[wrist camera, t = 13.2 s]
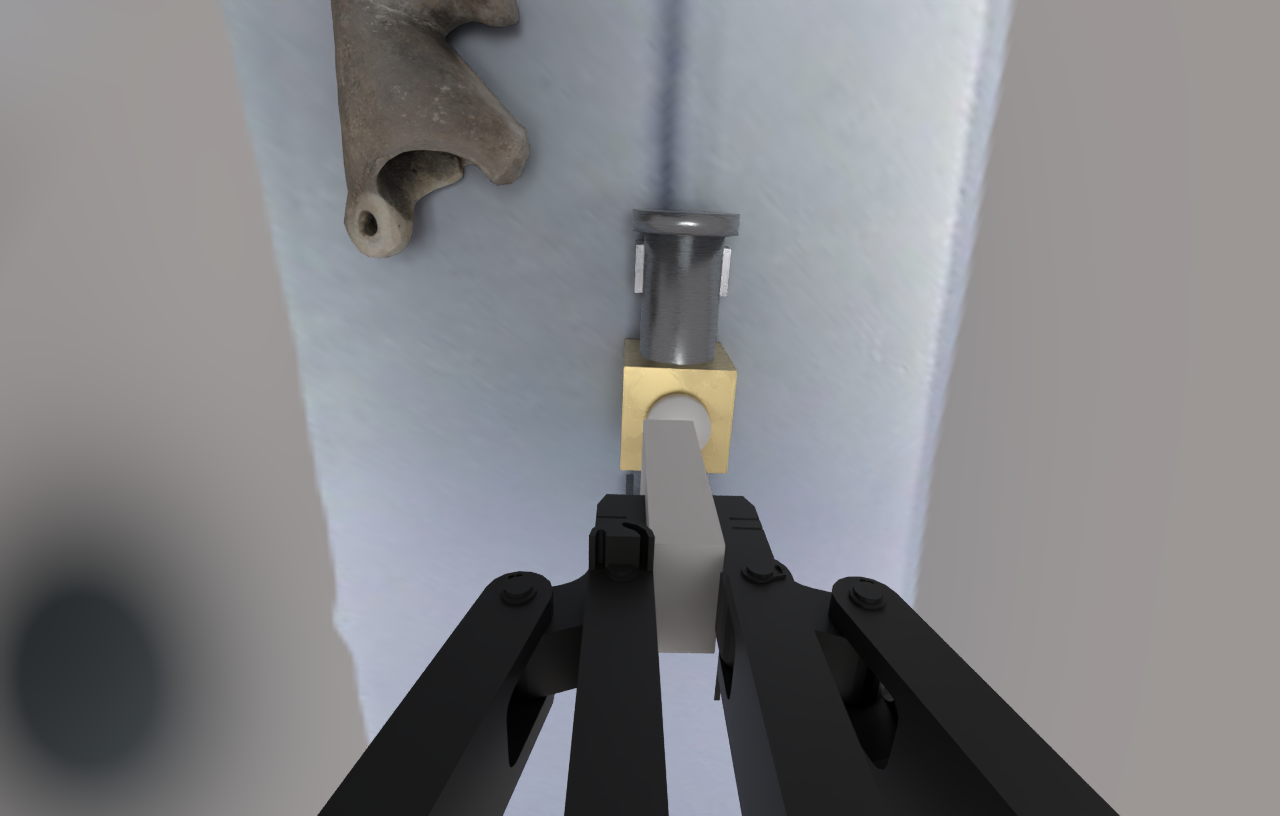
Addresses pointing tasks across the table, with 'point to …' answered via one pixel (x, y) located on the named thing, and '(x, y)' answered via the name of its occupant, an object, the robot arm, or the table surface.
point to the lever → (683, 413)
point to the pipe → (414, 112)
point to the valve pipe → (679, 329)
